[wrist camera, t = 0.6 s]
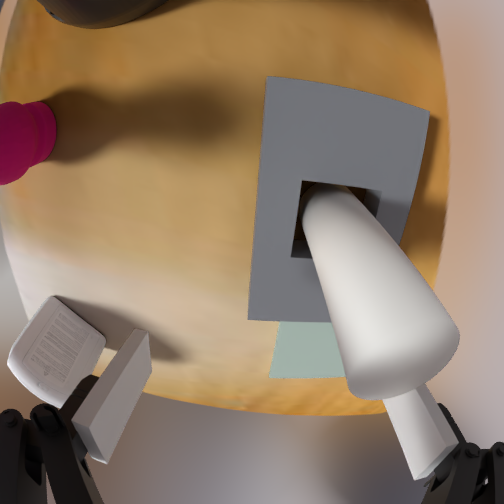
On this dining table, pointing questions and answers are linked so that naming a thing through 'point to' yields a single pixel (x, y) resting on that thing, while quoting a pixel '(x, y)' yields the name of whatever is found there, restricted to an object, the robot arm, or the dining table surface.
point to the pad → (306, 351)
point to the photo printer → (55, 352)
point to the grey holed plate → (324, 181)
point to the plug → (374, 298)
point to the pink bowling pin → (24, 137)
